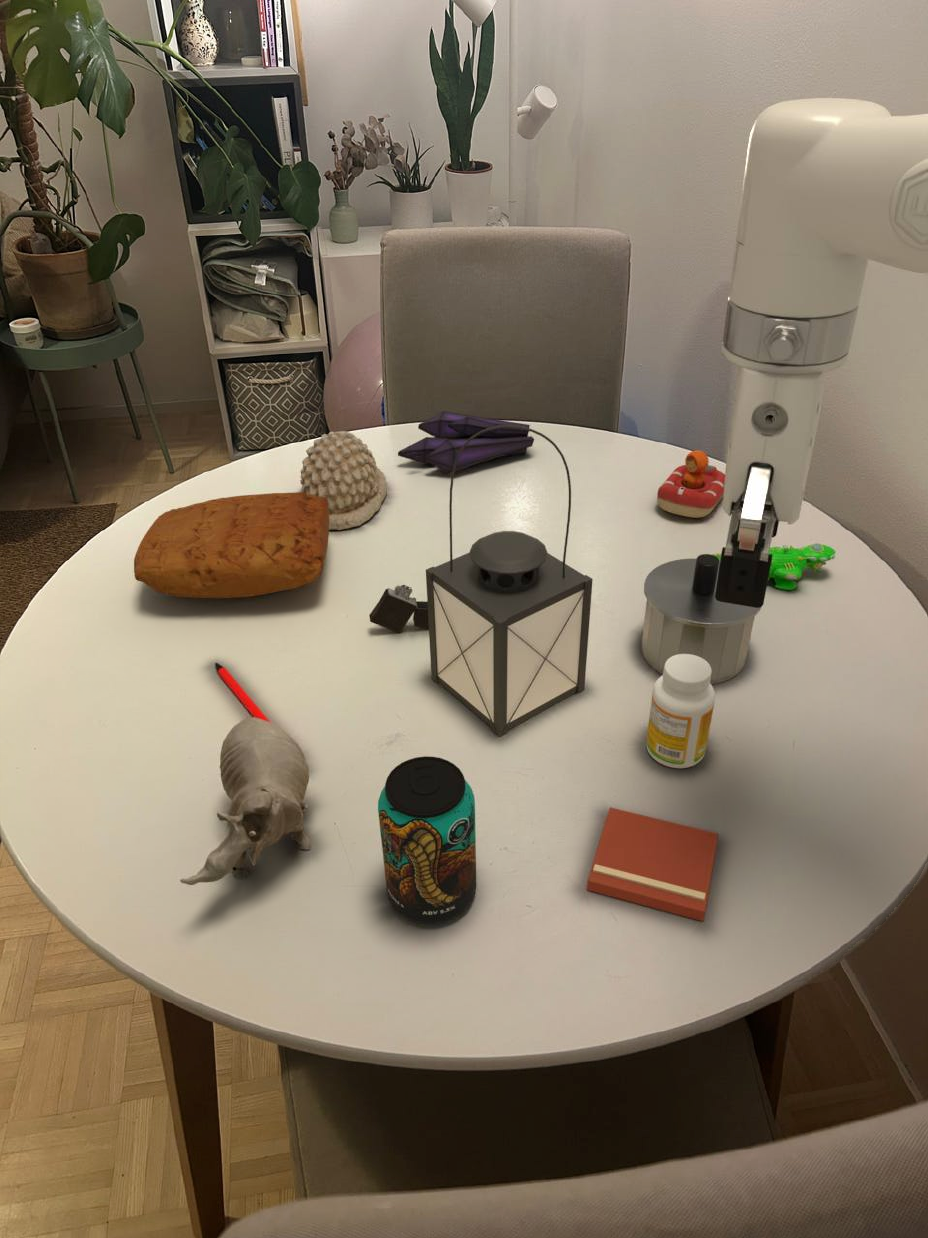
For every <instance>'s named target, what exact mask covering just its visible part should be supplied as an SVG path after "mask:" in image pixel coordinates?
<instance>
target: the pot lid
mask: <svg viewBox="0 0 928 1238" xmlns="http://www.w3.org/2000/svg"><path fill="white" fill-rule="evenodd" d="M714 555H715V554H714ZM714 555H712V554H710V553H703V554H702V553H701V554H700V555H698V556H697V557H696V558H681V559H680V558H679V559H675V560H671V561H667V562H664V563H662V564H660V565H658V566H656V567H654V568H653V569H652V570H651V571H650V572H649V573H648V574H647V575H646V578H645V580H644V583H643V593H644V596H645V599H646V601H647V600H648V602H649V603H650V605H651V606H652V607H653V608H654V609H656V610H657V611H658V612H660V613H661V614H663V615H664V616H666V617H668V618H670V619H672V620H675V621H678V622H681V623H684V624H687V625H692V626H698V627H707V628H720V627H729V626H734V625H738V624H741V623H744V622H746V621H748V620H750V619H751V618H753V617H754V616H757V615H758V614H759V612H761V609H762V607H760V608H755V607H749V606H743V605H737V604H731V603H725V602H720V601H717V600H716V598H715V593H716V586H717V579H718V573H719V566H720V562H719V559H718V558H717V557H716V556H717V555H716V556H714ZM754 618H755V617H754Z"/></svg>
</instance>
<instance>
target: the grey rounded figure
mask: <svg viewBox="0 0 928 1238" xmlns="http://www.w3.org/2000/svg"><path fill="white" fill-rule="evenodd" d="M270 722H271V721H270ZM270 722H268V721H265V720H262V719H258V718H255V717H254V716H249V717H245V718H243V719H242V720H241V721H240V722H238V723H236V724H234V726H233V727H232V728H231V729H230V731H228V733H227V735H226V736H225V738H224V740H223V741H222V745H221V747H220V753H219V755H220V756H219V758H220V759H219V760H220V762H219V764H220V765H219V769H220V780H221V785H222V788H223V790H224V791H225V793H226V796H227V797H228V799H229V800H230V804H229V806H228V808H227V814H225V813H223V812H217V813H216V817H217V818H218V820H219V821H221V822H226V825H227V827H228V833H227V835H226V837H225V839H224V840H223V841H222V842H221V843H220V844H219V845H218V846H217V847H216V848H214V849H213V850H211V852H210V853H209V854H208V856H207V857H206V860H205V863H204V865H203V867H202V868H201V869H200V870H199V871H198V872H197V874H194V875H191V876H189V877H187V878H180V880H179V882H180V883H181V884H185V885H189V886H194V885H196V884H200V883H214V882H217V881H219V880H221V879H223V878H225V876H228V874H229V873H230V872H231V873H232V874H233V875H234V876H235V878H236V879H239V880H241V879H242V880H243V879H250V877H249V876H248V875H250V874H251V873H250V872H249V871H247V869H245V867H244V864H245V861H246V859H247V853H248V857H249V861H250V862H251V864H252V866H253V867H255V866H256V864H257V862H258V860H259V856H260V855H261V852H262V850H263V849H265V848H268V847H271V846H272V845H274V844H275V843H277V842H278V841H279V840H280V839H281V838H282V836H283V835H284V834H289V833H290V835H291V836H290V837H291V839H292V840H293V841H296V842H297V843H298V844H297V845H295V848H296V849H297V850H311V849H312V843H311V839H309V837H307V835H306V833H305V832H304V830H305V827H304V826H303V822H304V813H305V812H306V810H307V809H308V807H309V805H308V803H306V801H304V799H305V797H306V792H307V789H308V785H309V780H310V771H309V769H310V768H309V765H308V763H307V760H306V757H305V753H304V752H303V750H302V749H301V747H300V745H299V744H298V743H297V742H296V741H295V740H294V738H292V736H291V735H289V734H288V732H286V731H285V730H284V729H283V728H281V727H280V726H278V725H277V724H274V723H273V722H271V723H270ZM247 851H249V852H247Z"/></svg>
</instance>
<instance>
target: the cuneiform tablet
mask: <svg viewBox="0 0 928 1238" xmlns="http://www.w3.org/2000/svg"><path fill="white" fill-rule="evenodd" d="M329 534H330V530H329V503H328V499H327V498H324V497H318V496H317V495H313V494H304V493H302V492H300V491H298V492H271V493H258V494H245V495H235V496H228V497H219V498H214V499H209V500H206V501H202V502H198V503H193V504H190V505H188V506H182V507H178V508H172V509H170V510H167V511H165V512H163V513H162V514H161V515H159V516H158V517H157V518H156V519H155V520H154V522H153V523H152V524H151V526H150V527H149V528H148V530H147V531H146V533H145V534H144V535H143V538H142V539H141V541H140V544H139V545H138V547H137V550H136V553H135V555H134V558H133V573H134V580H136V581H137V582H141V583H143V584H145V586H148V587H149V588H151V589H153V590H155V591H157V593H160V594H163V595H166V594H167V595H170V596H174V597H176V598H196V599H230V598H248V597H256V596H260V595H267V594H273V593H277V592H282V591H287V590H293V589H296V588H300V587H301V586H303V585H307V584H310V583H312V582H314V581H316V580H318V578H319V577H320V575H321V574H322V571H323V569H324V564H325V560H326V555H327V553H328V544H329V537H330V536H329Z"/></svg>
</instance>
